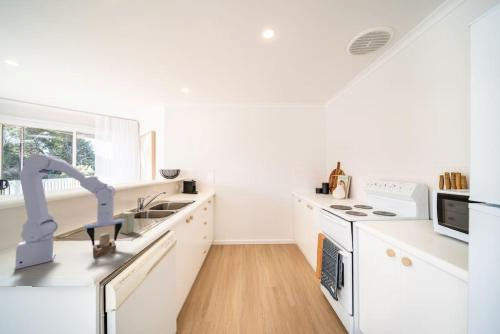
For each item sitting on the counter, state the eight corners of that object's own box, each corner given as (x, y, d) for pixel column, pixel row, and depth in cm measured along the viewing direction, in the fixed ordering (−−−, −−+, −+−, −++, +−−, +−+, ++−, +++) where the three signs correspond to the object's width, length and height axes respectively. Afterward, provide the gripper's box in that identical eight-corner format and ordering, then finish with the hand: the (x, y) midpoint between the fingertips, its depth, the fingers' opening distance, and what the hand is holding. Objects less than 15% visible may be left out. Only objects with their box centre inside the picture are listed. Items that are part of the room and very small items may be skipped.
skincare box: (119, 233, 103) (120, 212, 104) (126, 230, 107) (127, 211, 108) (127, 234, 101) (127, 213, 102) (134, 231, 106) (134, 211, 106)
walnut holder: (93, 257, 73) (93, 250, 74) (92, 251, 79) (93, 245, 79) (115, 252, 79) (115, 245, 79) (113, 246, 84) (114, 240, 84)
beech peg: (99, 254, 76) (100, 236, 77) (98, 252, 79) (99, 234, 79) (109, 251, 79) (110, 234, 79) (108, 249, 81) (109, 232, 82)
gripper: (83, 217, 71) (82, 250, 71) (126, 211, 82) (125, 240, 81) (83, 214, 77) (82, 244, 76) (123, 209, 87) (122, 236, 86)
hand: (104, 242), depth 79 cm, fingers open, 7 cm apart
